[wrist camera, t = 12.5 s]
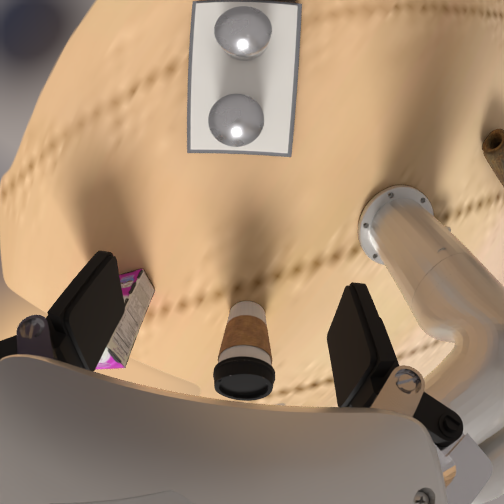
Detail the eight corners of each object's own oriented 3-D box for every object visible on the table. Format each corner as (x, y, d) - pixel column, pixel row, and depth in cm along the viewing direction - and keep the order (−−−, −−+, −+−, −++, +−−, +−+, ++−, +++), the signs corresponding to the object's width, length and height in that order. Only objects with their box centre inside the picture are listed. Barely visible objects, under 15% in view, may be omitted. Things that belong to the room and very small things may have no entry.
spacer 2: (264, 95, 27) (265, 95, 22) (261, 138, 30) (262, 148, 25) (218, 93, 27) (208, 93, 22) (216, 137, 30) (207, 146, 25)
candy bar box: (108, 302, 47) (72, 371, 33) (94, 280, 45) (51, 348, 31) (158, 291, 45) (126, 370, 31) (144, 266, 43) (103, 344, 29)
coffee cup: (241, 286, 44) (234, 364, 31) (283, 310, 47) (289, 387, 34) (212, 316, 48) (199, 390, 35) (252, 337, 50) (250, 409, 37)
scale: (299, -13, 22) (305, -27, 18) (289, 152, 34) (293, 162, 29) (199, -15, 22) (190, -30, 18) (192, 149, 34) (182, 157, 29)
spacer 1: (268, 20, 23) (272, 6, 18) (268, 61, 25) (271, 54, 20) (221, 21, 23) (214, 7, 18) (221, 61, 25) (213, 55, 20)
